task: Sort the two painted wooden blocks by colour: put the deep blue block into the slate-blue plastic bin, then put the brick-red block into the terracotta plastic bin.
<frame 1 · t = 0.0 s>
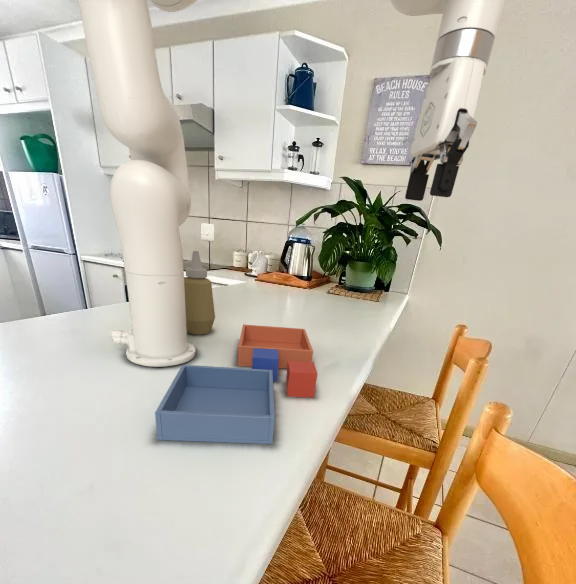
hand: (425, 198, 54), 31 cm above the countertop, tool pointing down, fingers open, 9 cm apart
red bin: (273, 354, 69), on the countertop
red block: (299, 390, 55), on the countertop
blue block: (264, 376, 59), on the countertop
blue bin: (222, 412, 47), on the countertop
squeeze bottle: (198, 332, 78), on the countertop
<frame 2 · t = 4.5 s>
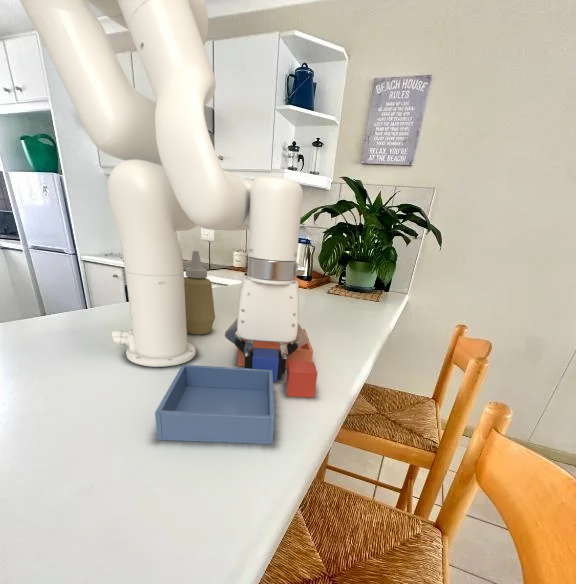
hand: (264, 374, 59), 0 cm above the countertop, tool pointing down, fingers closed on blue block, 4 cm apart
blue block: (264, 376, 59), on the countertop, touching gripper
everything else where it was.
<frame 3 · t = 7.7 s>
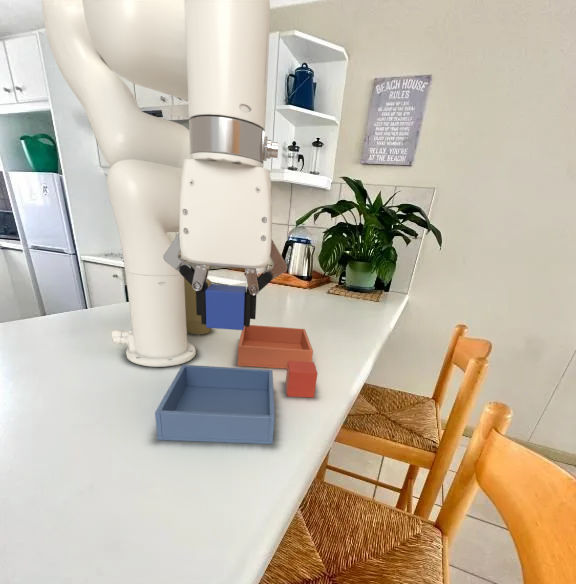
hand: (226, 321, 41), 13 cm above the countertop, tool pointing down, fingers closed on blue block, 4 cm apart
blue block: (226, 324, 41), point 13 cm above the countertop, touching gripper
everything else where it was.
when the fingers open (1 cm above the countertop, at t = 11.0 s): blue block stays where it is, resting on blue bin.
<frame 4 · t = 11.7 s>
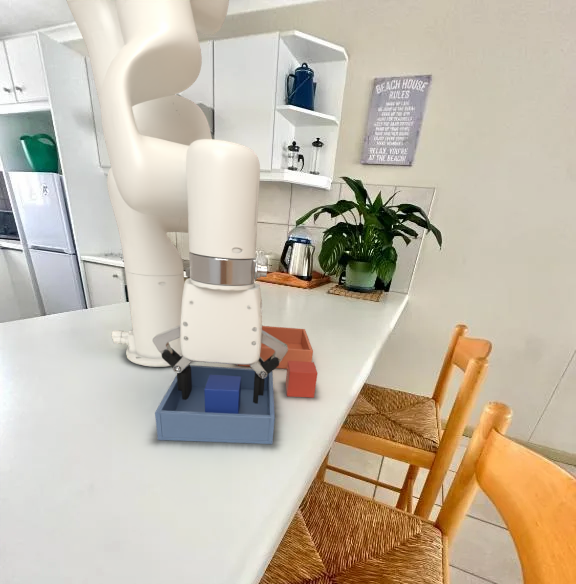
hand: (221, 396, 46), 2 cm above the countertop, tool pointing down, fingers open, 9 cm apart
blue block: (223, 410, 46), resting on blue bin
everything else where it was.
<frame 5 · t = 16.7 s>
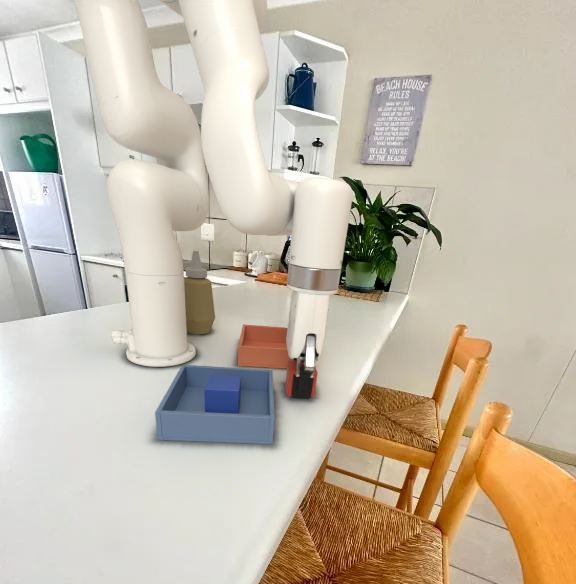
hand: (299, 388, 55), 0 cm above the countertop, tool pointing down, fingers closed on red block, 4 cm apart
red block: (299, 390, 55), on the countertop, touching gripper
everything else where it was.
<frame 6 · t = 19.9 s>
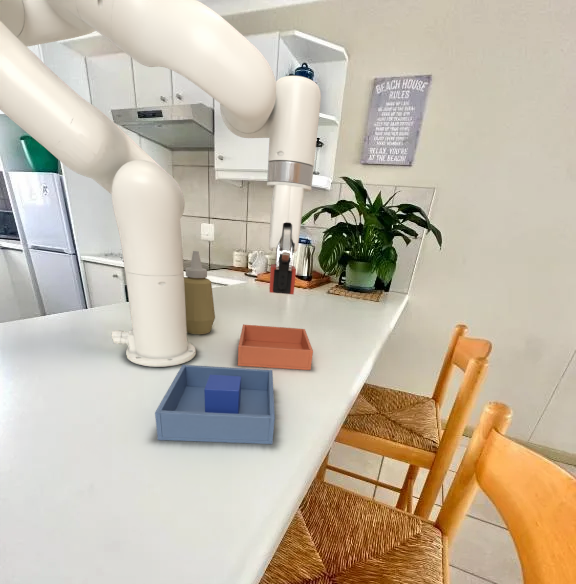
hand: (281, 289, 62), 14 cm above the countertop, tool pointing down, fingers closed on red block, 4 cm apart
red block: (281, 291, 62), point 14 cm above the countertop, touching gripper
everything else where it was.
when the fingers open (1 cm above the countertop, at t = 23.3 s): red block stays where it is, resting on red bin.
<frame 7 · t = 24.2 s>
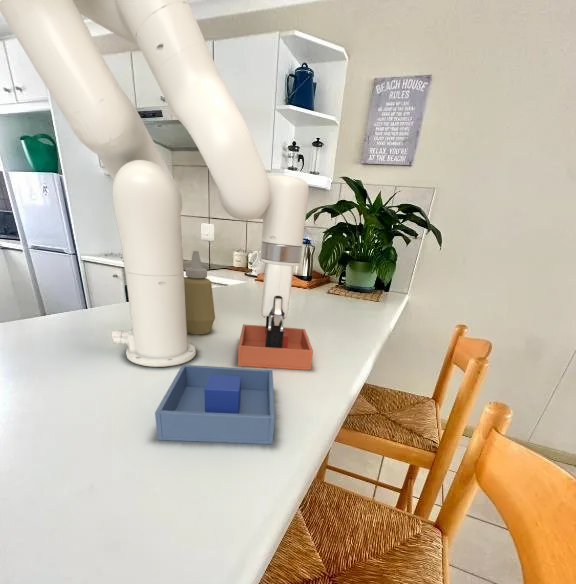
hand: (272, 341, 67), 3 cm above the countertop, tool pointing down, fingers open, 9 cm apart
red block: (275, 352, 69), resting on red bin
everything else where it was.
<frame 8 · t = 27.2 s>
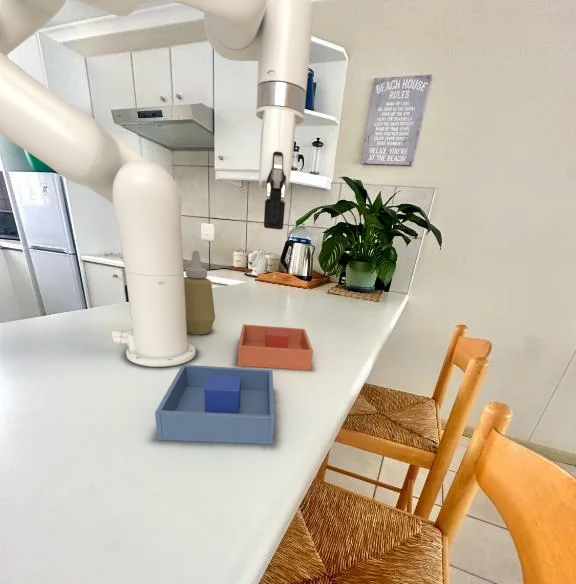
hand: (272, 228, 58), 24 cm above the countertop, tool pointing down, fingers open, 9 cm apart
nothing on the countertop moved.
at the end: blue block inside the target area in the blue bin (0.2 cm from its centre), point 0.5 cm above the blue bin's base; red block inside the target area in the red bin (0.3 cm from its centre), point 0.5 cm above the red bin's base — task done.
